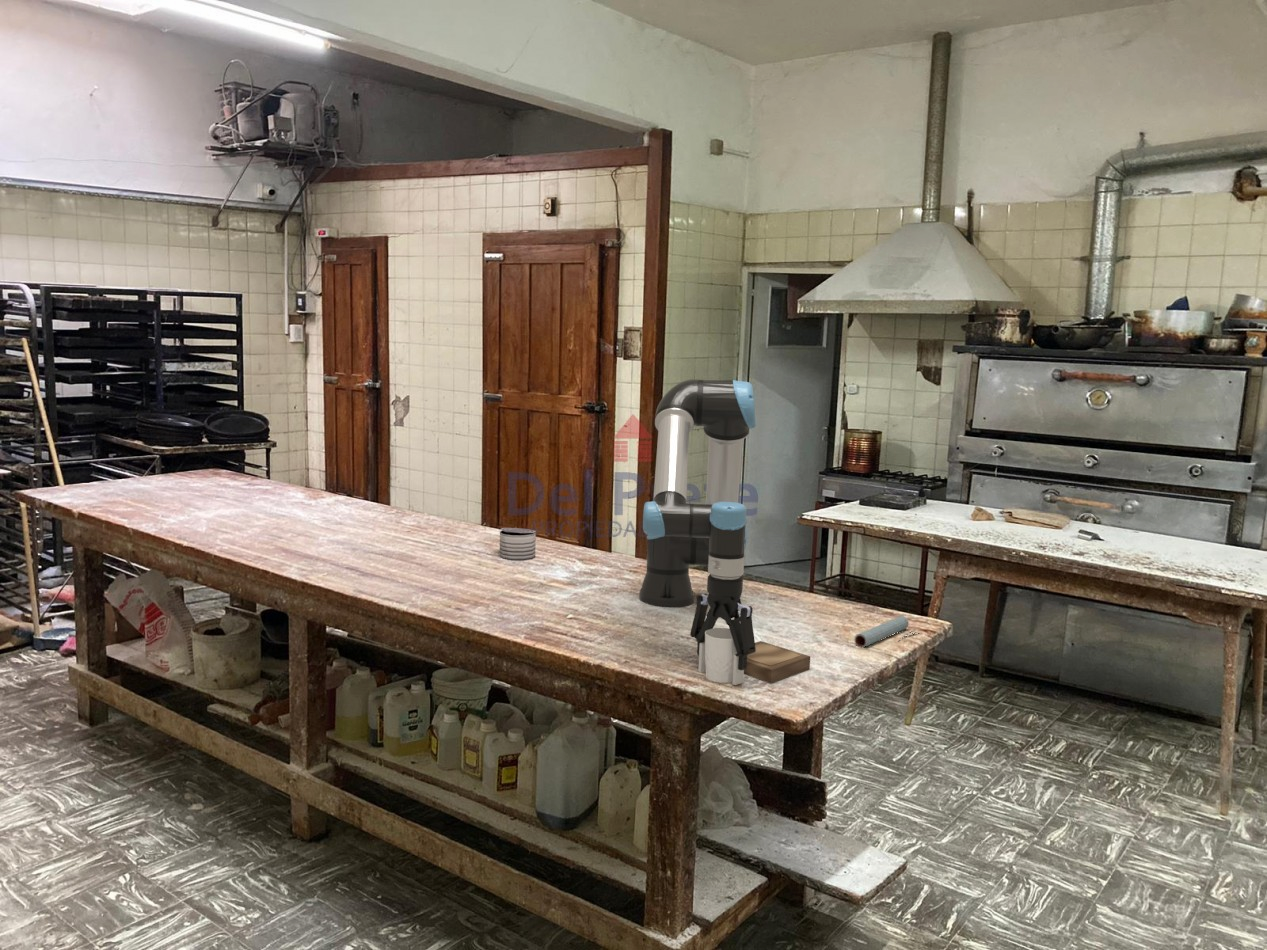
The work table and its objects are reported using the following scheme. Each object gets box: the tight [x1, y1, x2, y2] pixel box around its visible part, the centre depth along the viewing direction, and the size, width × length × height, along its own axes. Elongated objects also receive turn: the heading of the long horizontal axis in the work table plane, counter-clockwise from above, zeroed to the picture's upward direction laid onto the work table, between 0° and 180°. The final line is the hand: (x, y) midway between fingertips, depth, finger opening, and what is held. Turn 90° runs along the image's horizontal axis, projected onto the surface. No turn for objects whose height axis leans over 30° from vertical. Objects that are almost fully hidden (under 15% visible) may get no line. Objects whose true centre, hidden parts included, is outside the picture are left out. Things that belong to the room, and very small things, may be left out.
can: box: [498, 527, 537, 562], centre depth 298 cm, size 11×11×12 cm
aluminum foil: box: [853, 615, 920, 648], centre depth 236 cm, size 23×7×3 cm, turn 138°
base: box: [744, 640, 811, 684], centre depth 211 cm, size 14×14×3 cm
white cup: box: [705, 627, 737, 684], centre depth 203 cm, size 8×8×10 cm
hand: (720, 677), depth 203 cm, fingers open, 9 cm apart
